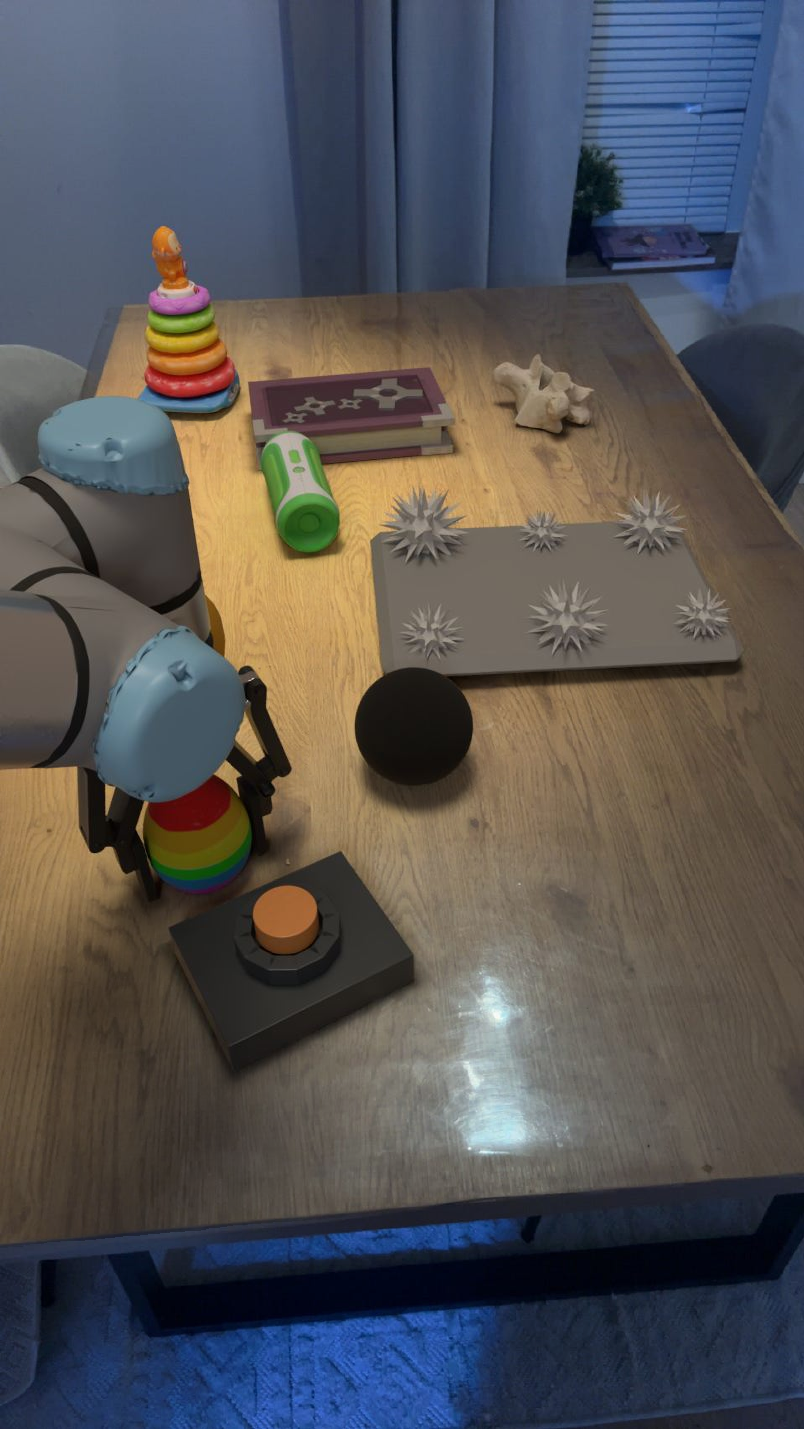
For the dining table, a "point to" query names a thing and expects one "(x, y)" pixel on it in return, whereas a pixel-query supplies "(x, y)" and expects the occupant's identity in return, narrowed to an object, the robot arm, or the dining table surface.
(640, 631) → the decorative tray
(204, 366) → the stacking toy
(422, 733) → the decorative ball
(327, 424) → the book
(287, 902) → the orange button
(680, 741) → the dining table surface
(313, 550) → the speaker
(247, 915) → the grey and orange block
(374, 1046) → the dining table surface
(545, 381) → the decorative object
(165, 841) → the decorative egg
